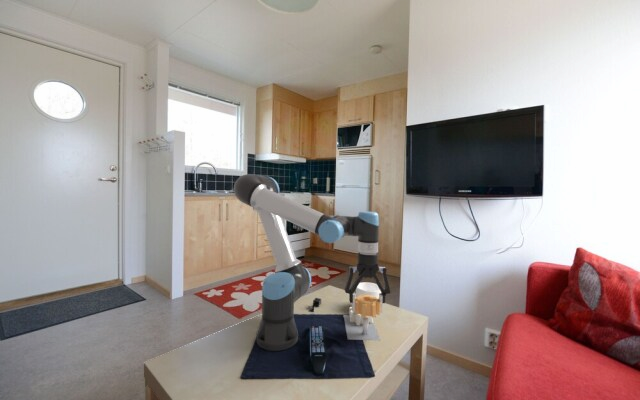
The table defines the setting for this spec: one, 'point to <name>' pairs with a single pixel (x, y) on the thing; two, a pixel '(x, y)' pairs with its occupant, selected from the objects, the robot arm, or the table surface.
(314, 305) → the black boxy piece
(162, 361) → the table surface
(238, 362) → the table surface
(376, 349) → the table surface
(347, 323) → the gear board
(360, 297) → the gear
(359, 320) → the gear
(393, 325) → the table surface
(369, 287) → the cup
